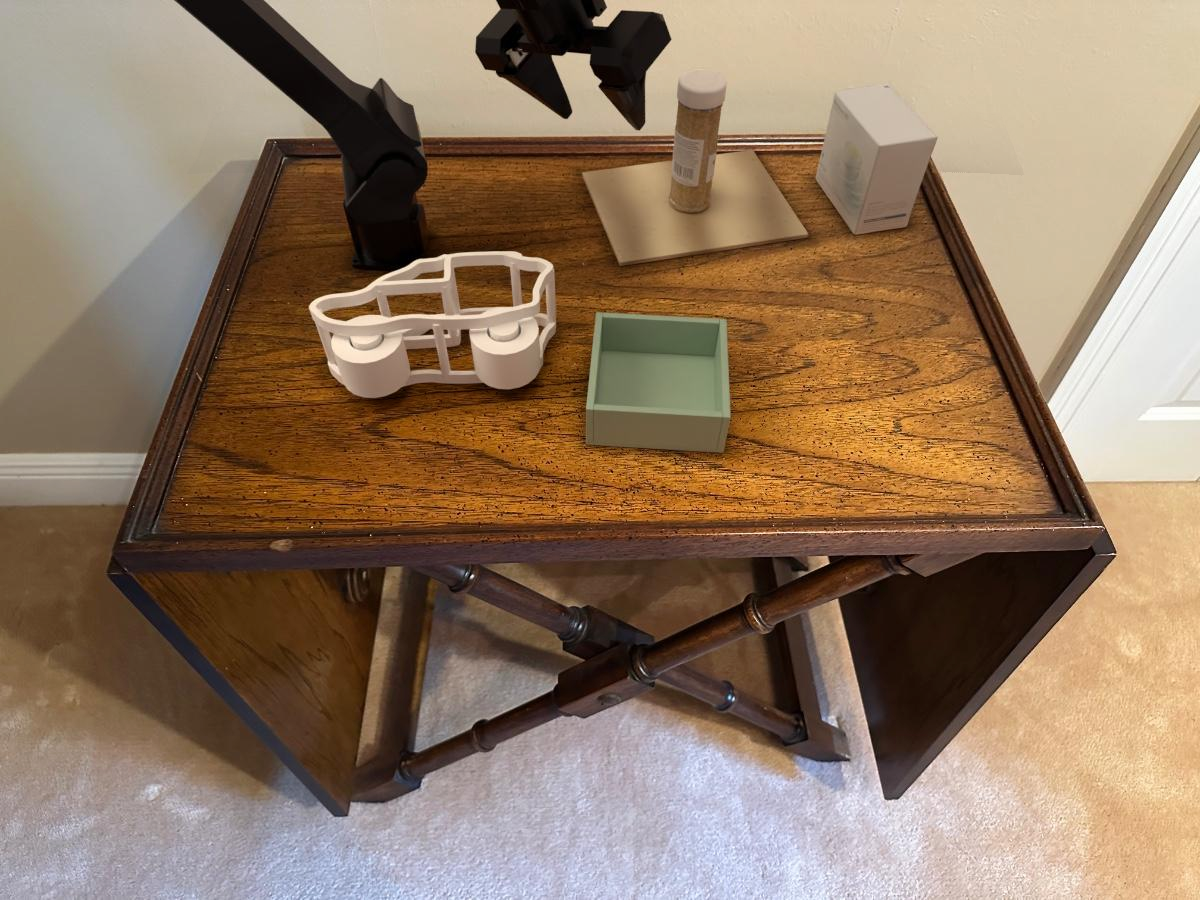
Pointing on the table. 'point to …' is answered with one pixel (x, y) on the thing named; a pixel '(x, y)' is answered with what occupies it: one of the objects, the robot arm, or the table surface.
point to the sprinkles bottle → (696, 138)
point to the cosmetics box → (874, 158)
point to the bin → (659, 383)
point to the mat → (659, 231)
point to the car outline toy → (439, 328)
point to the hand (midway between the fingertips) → (603, 121)
